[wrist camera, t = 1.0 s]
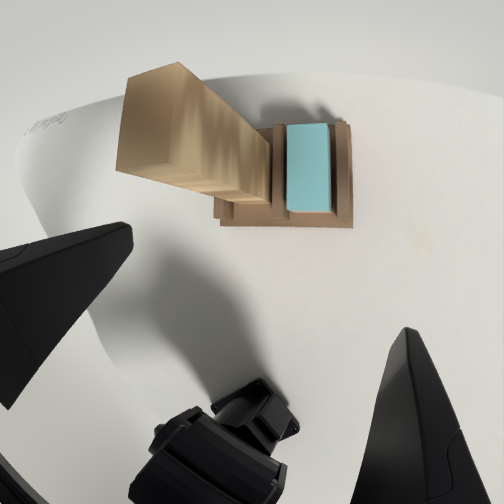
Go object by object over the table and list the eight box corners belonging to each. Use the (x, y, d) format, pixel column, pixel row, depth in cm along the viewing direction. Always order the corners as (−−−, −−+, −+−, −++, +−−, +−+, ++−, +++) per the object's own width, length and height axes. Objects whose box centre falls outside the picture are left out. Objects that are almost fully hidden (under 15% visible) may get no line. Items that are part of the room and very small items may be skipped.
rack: (352, 228, 23) (351, 226, 20) (225, 226, 27) (208, 224, 24) (350, 128, 23) (348, 114, 20) (227, 136, 27) (212, 125, 24)
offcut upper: (330, 211, 21) (328, 209, 20) (291, 211, 22) (286, 209, 21) (329, 130, 21) (326, 123, 20) (291, 131, 22) (286, 125, 21)
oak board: (273, 203, 24) (168, 162, 11) (239, 204, 25) (115, 170, 12) (273, 148, 24) (178, 61, 11) (241, 150, 25) (128, 78, 12)
